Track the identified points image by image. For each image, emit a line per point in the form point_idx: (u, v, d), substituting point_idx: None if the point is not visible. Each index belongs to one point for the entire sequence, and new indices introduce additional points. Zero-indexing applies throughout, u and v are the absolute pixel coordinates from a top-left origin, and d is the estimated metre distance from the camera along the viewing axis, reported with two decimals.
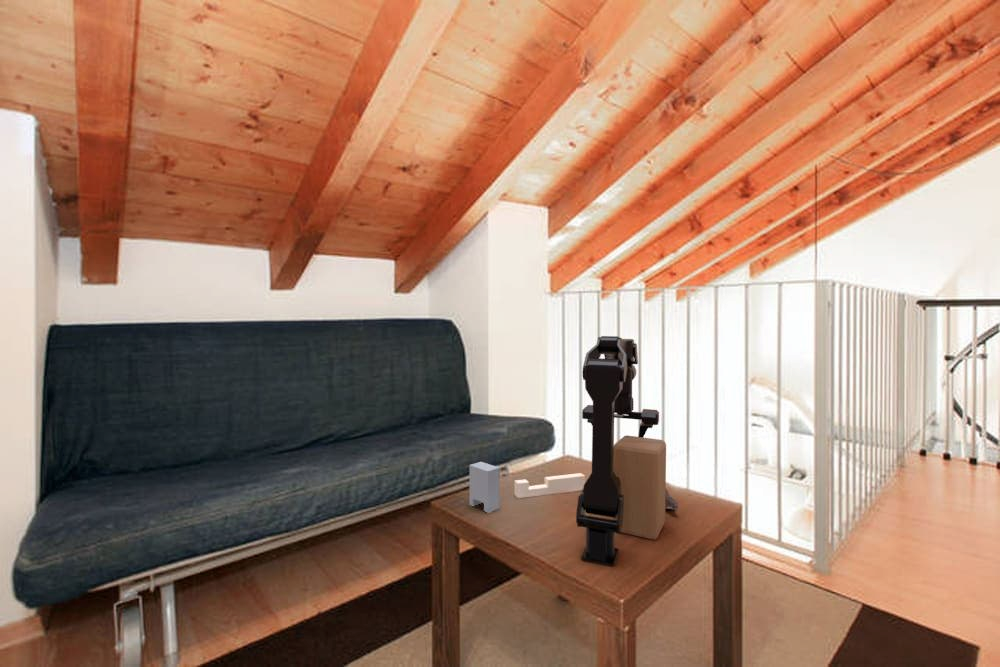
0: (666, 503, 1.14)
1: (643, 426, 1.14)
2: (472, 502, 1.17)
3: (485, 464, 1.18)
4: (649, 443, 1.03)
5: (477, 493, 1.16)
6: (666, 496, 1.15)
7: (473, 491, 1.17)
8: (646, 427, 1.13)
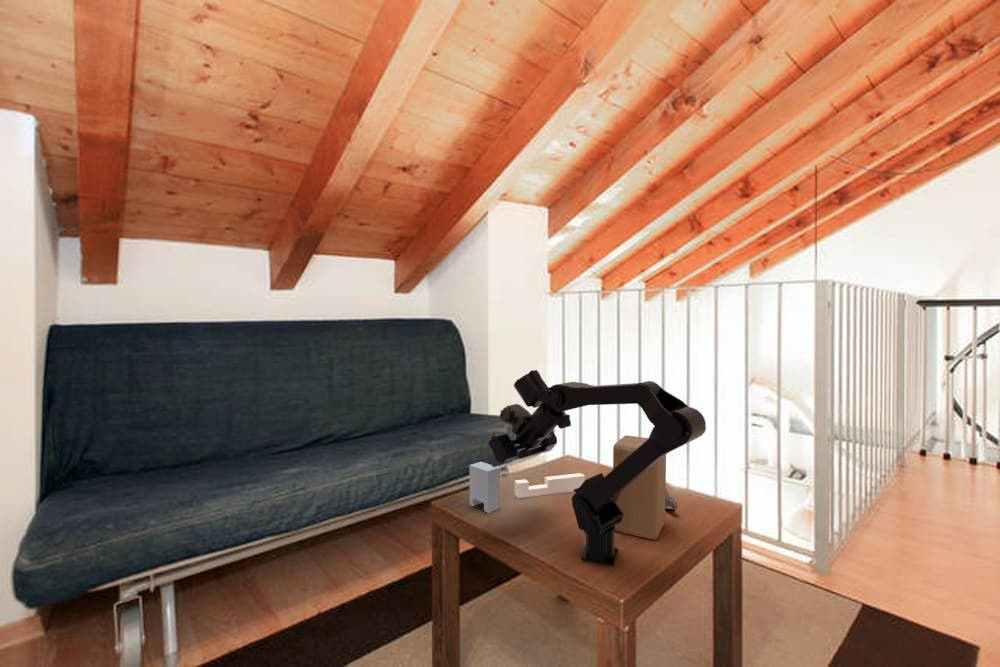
0: (666, 503, 1.14)
1: (543, 450, 1.11)
2: (472, 502, 1.17)
3: (485, 464, 1.18)
4: None
5: (477, 493, 1.16)
6: (666, 496, 1.15)
7: (473, 491, 1.17)
8: None
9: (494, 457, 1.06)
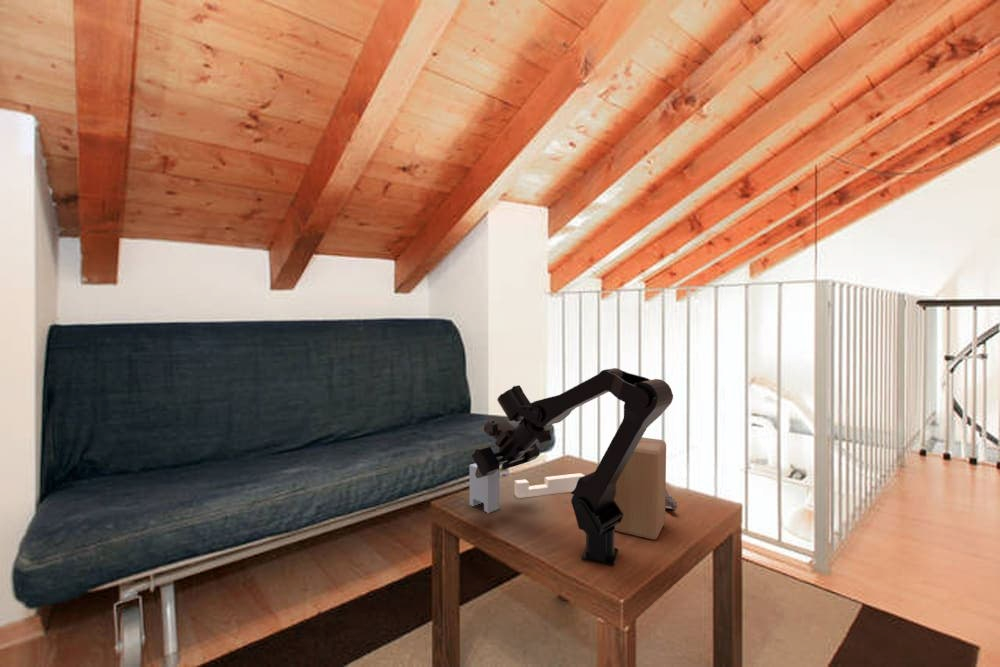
0: (665, 502, 1.15)
1: (526, 462, 1.15)
2: (472, 502, 1.17)
3: None
4: (649, 443, 1.03)
5: (477, 493, 1.16)
6: (665, 496, 1.16)
7: (473, 491, 1.17)
8: None
9: (478, 468, 1.10)
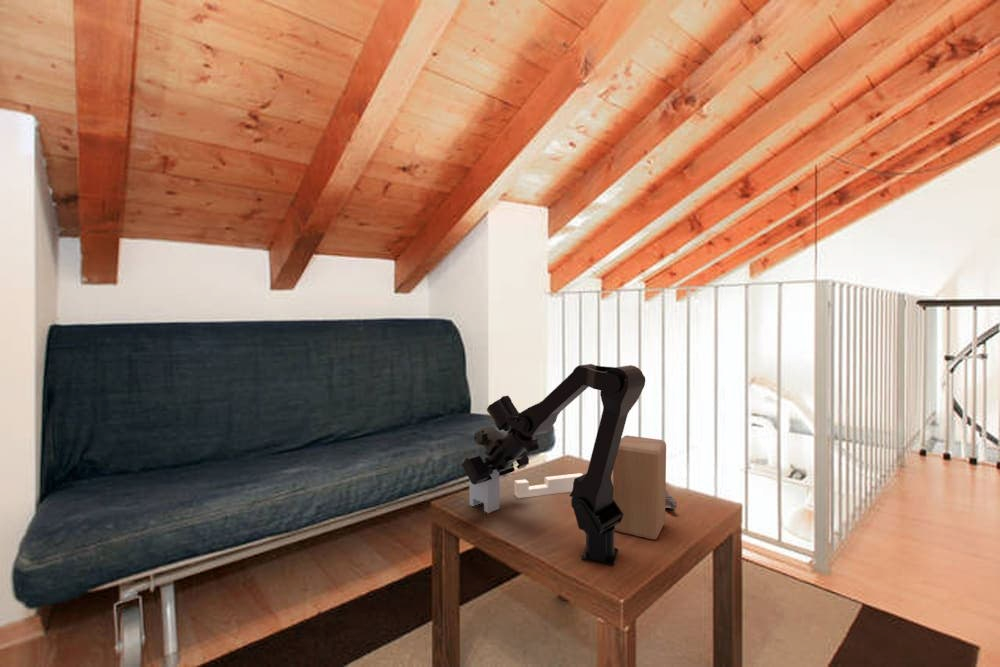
0: (665, 502, 1.15)
1: (509, 472, 1.15)
2: (472, 502, 1.17)
3: None
4: (649, 443, 1.03)
5: (477, 493, 1.16)
6: (665, 495, 1.16)
7: (473, 491, 1.17)
8: None
9: None
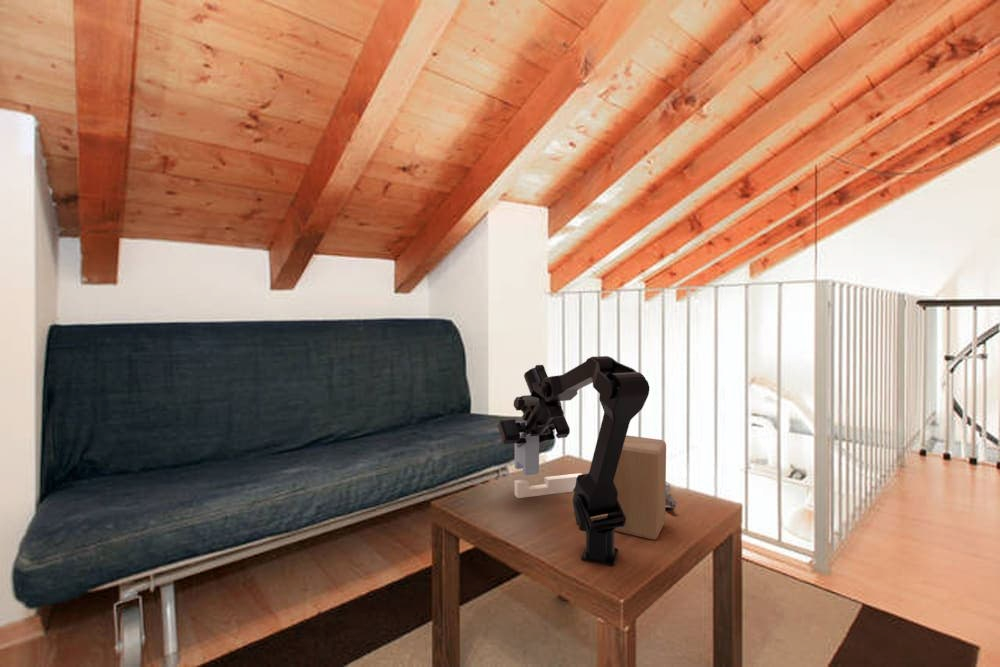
0: None
1: (548, 440, 1.20)
2: (516, 464, 1.26)
3: None
4: (649, 443, 1.03)
5: (519, 456, 1.24)
6: None
7: (517, 454, 1.25)
8: None
9: None
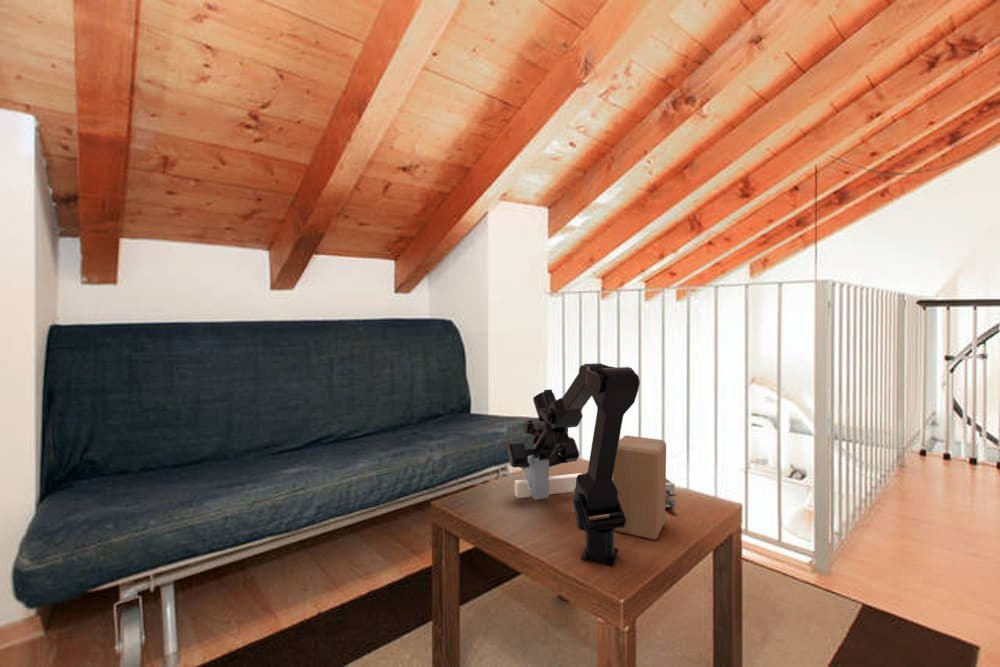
0: None
1: (562, 463, 1.22)
2: None
3: None
4: (649, 443, 1.03)
5: (529, 480, 1.25)
6: None
7: (527, 477, 1.27)
8: None
9: None
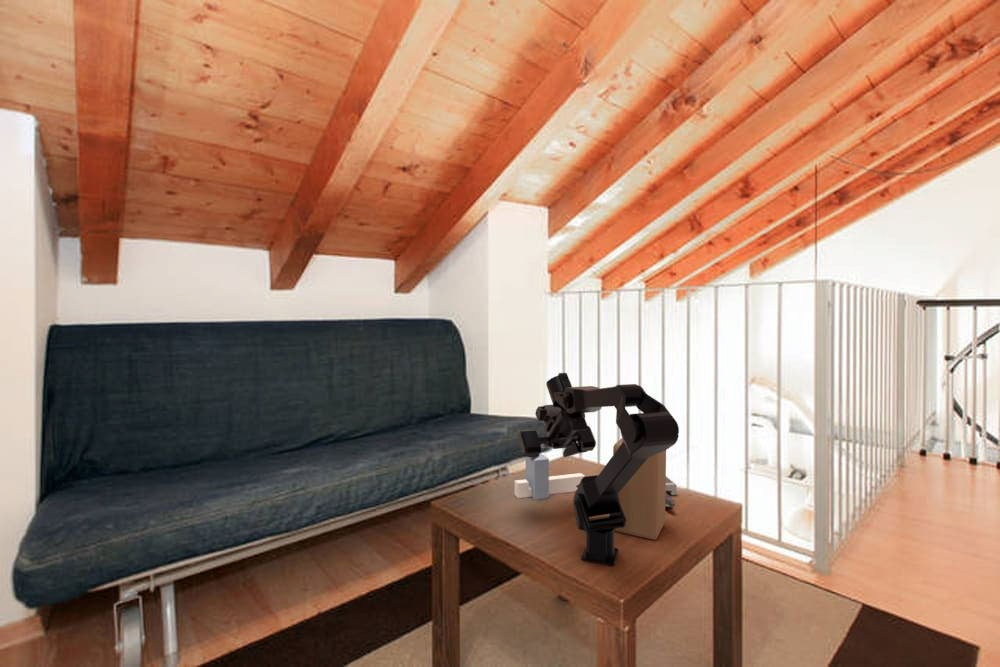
0: None
1: (581, 452, 1.13)
2: None
3: (539, 454, 1.26)
4: None
5: (529, 480, 1.25)
6: None
7: (527, 477, 1.27)
8: (583, 452, 1.14)
9: None
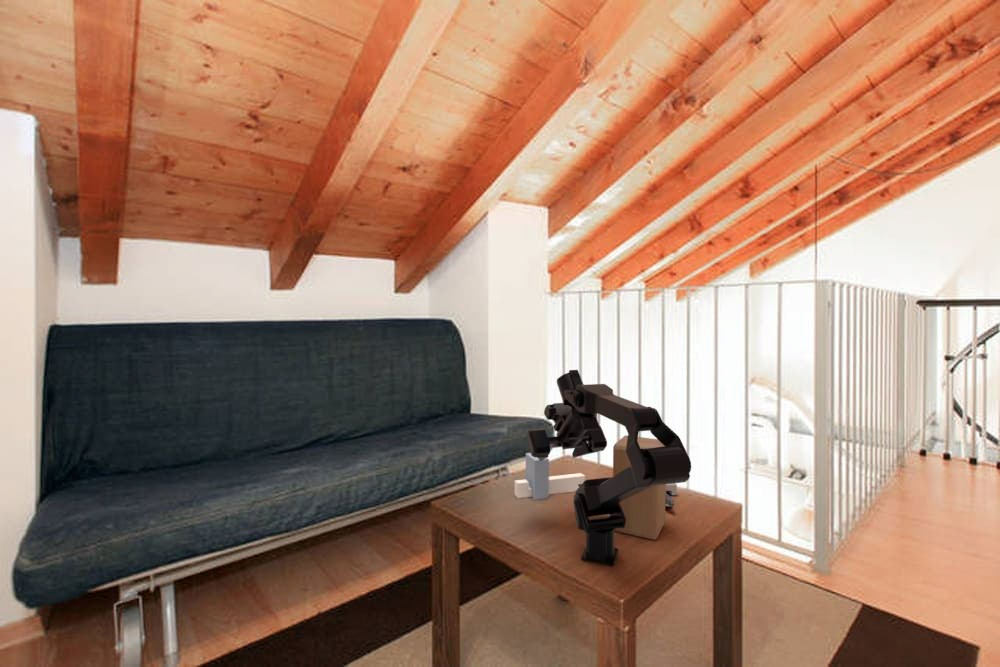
0: None
1: (591, 452, 1.09)
2: None
3: None
4: (649, 443, 1.03)
5: (529, 480, 1.25)
6: None
7: (527, 477, 1.27)
8: (594, 452, 1.09)
9: None
